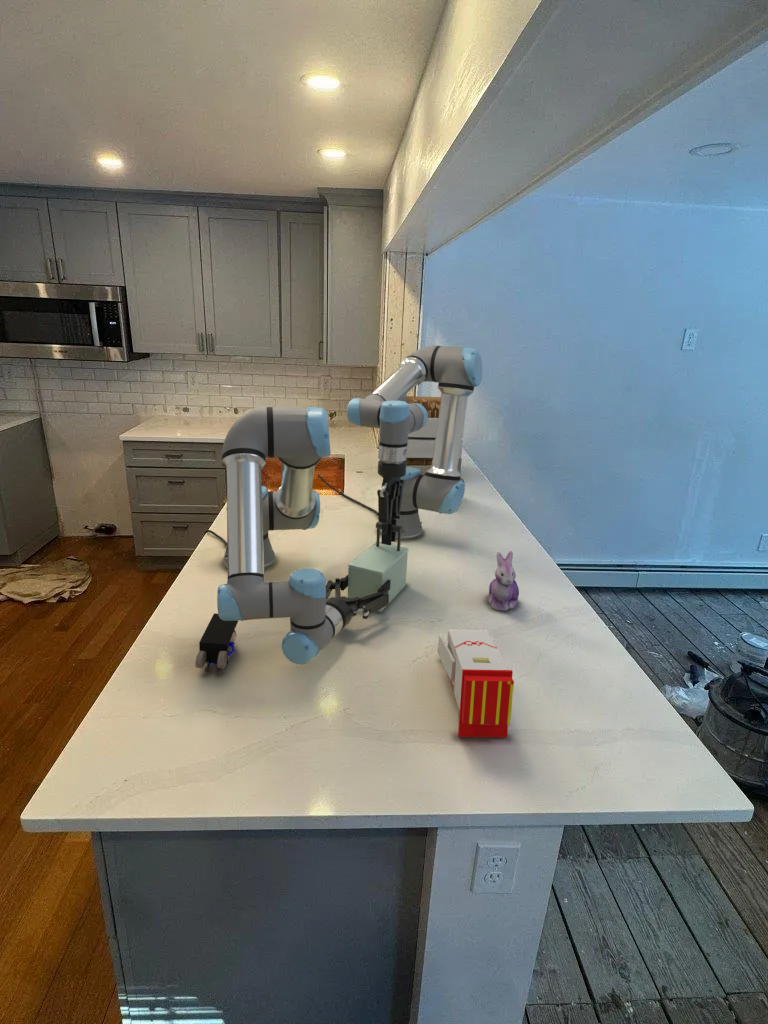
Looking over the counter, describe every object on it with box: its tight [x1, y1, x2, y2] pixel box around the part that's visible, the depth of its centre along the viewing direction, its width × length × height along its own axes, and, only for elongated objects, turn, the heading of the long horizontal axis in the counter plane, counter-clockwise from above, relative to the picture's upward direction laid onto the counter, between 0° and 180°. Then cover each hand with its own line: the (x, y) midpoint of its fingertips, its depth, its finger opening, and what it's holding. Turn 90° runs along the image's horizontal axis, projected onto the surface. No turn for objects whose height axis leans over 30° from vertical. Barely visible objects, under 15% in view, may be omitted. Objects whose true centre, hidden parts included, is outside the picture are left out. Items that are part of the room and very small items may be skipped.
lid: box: [347, 521, 410, 575], centre depth 153 cm, size 18×10×8 cm, turn 156°
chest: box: [347, 551, 409, 613], centre depth 155 cm, size 18×10×11 cm, turn 156°
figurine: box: [487, 550, 520, 612], centre depth 153 cm, size 9×10×15 cm
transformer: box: [400, 392, 465, 474], centre depth 268 cm, size 34×33×41 cm
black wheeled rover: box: [195, 612, 239, 673], centre depth 125 cm, size 7×8×15 cm
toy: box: [437, 628, 515, 738], centre depth 117 cm, size 12×13×30 cm
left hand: (370, 580), depth 151 cm, fingers closed on chest, 10 cm apart
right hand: (388, 542), depth 158 cm, fingers open, 2 cm apart
